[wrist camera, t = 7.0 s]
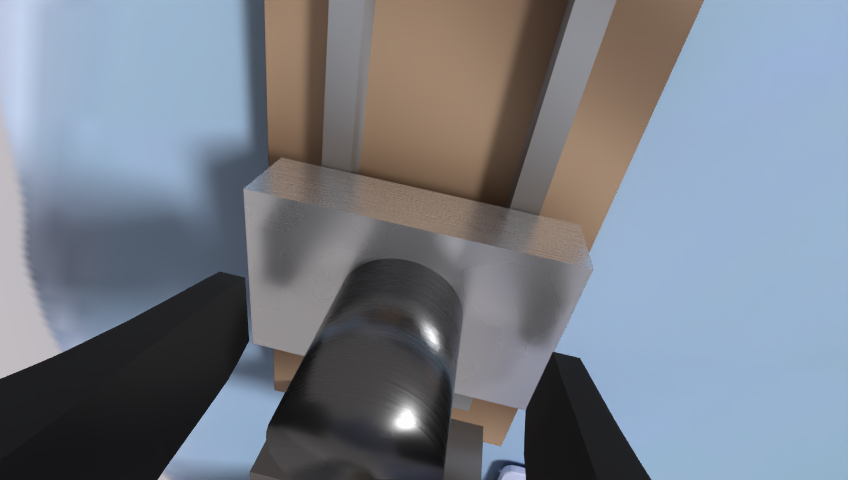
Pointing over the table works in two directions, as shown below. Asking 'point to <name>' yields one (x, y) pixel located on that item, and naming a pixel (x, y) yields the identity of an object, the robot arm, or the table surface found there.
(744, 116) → the table surface
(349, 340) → the press carriage
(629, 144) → the nut press
